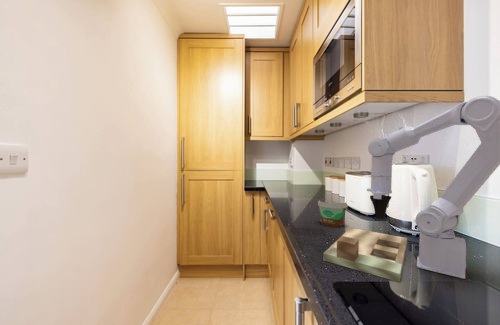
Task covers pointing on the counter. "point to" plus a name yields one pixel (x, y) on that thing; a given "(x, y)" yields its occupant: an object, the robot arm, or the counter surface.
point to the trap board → (373, 254)
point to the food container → (332, 213)
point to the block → (347, 248)
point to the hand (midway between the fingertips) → (380, 218)
